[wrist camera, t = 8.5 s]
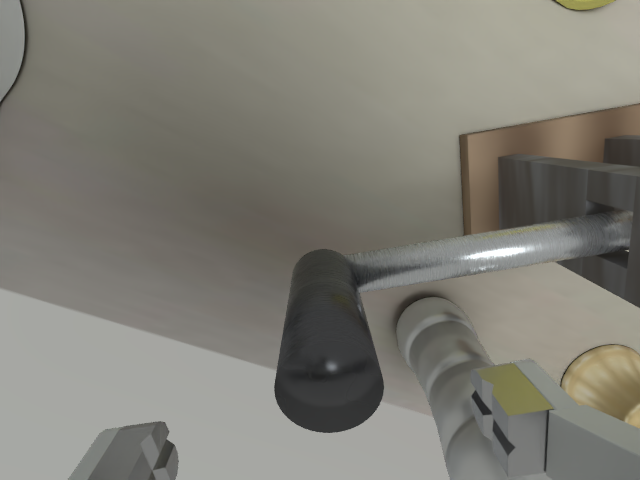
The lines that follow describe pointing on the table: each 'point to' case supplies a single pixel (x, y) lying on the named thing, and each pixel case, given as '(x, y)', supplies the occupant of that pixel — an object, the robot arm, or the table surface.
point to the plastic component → (584, 4)
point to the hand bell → (607, 382)
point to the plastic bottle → (451, 384)
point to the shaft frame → (560, 183)
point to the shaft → (387, 272)
